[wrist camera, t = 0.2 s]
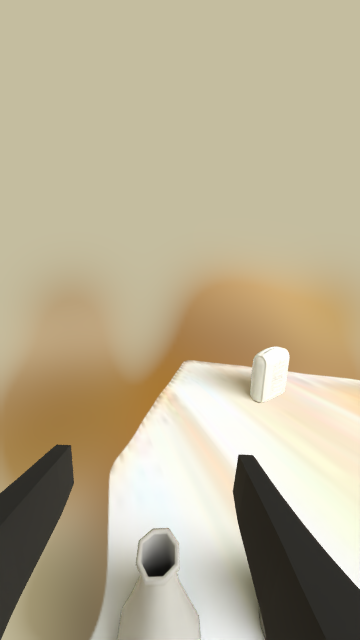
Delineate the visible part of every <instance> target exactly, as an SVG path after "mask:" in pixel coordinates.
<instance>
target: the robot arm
mask: <svg viewBox="0 0 360 640" xmlns="http://www.w3.org/2000/svg"><path fill="white" fill-rule="evenodd" d="M73 479H74V478H73V466H72V453H71V445H56V446H55V447H53V448H52V449H51V450H50V451H49V452H48V453H46V454H45V455H44V456H43V457H42V458H41V459H39V460H38V461H37V462H36V463H35V464H34V465H33V466H32V467H30V468H29V469H28V470H27V471H26V472H25V473H24V474H22V475H21V476H20V477H19V478H18V479H17V480H15V481H14V482H13V483H12V484H11V485H9V486H8V487H7V488H6V489H5V490H4V491H2V492H1V493H0V640H1V638H2V636H3V633H4V631H5V629H6V626H7V624H8V622H9V619H10V617H11V615H12V613H13V610H14V609H15V606H16V604H17V602H18V600H19V598H20V596H21V594H22V592H23V590H24V588H25V586H26V583H27V582H28V580H29V578H30V576H31V574H32V572H33V570H34V568H35V566H36V564H37V562H38V560H39V558H40V556H41V554H42V552H43V550H44V548H45V546H46V544H47V542H48V540H49V538H50V536H51V534H52V532H53V530H54V528H55V526H56V524H57V522H58V520H59V518H60V516H61V514H62V512H63V509H64V507H65V505H66V502H67V500H68V497H69V494H70V492H71V489H72V486H73V484H74V480H73ZM233 495H234V501H235V508H236V514H237V520H238V524H239V529H240V533H241V536H242V540H243V544H244V548H245V552H246V556H247V560H248V564H249V568H250V572H251V576H252V580H253V584H254V587H255V591H256V595H257V599H258V603H259V607H260V611H261V616H262V620H263V625H264V629H265V634H266V640H360V589H359V588H358V587H357V586H356V585H355V584H354V583H353V582H352V581H351V579H350V578H349V577H348V576H347V575H346V574H345V573H344V572H343V570H342V569H341V568H340V567H339V566H338V565H337V564H336V563H335V561H334V560H333V559H332V558H331V557H330V556H329V554H328V553H327V552H326V551H325V550H324V549H323V547H322V546H321V545H320V544H319V543H318V541H317V540H316V539H315V538H314V536H313V535H312V534H311V533H310V532H309V530H308V529H307V528H306V527H305V525H304V524H303V523H302V522H301V520H300V519H299V518H298V517H297V515H296V514H295V513H294V511H293V510H292V509H291V507H290V506H289V505H288V503H287V502H286V501H285V499H284V498H283V497H282V495H281V494H280V493H279V491H278V490H277V489H276V487H275V486H274V484H273V483H272V482H271V480H270V479H269V477H268V476H267V474H266V473H265V472H264V470H263V469H262V467H261V466H260V464H259V463H258V461H257V460H256V459H255V457H254V456H253V455H239V456H238V462H237V469H236V475H235V482H234V488H233Z"/></svg>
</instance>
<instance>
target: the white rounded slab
mask: <svg viewBox="0 0 360 640" xmlns="http://www.w3.org/2000/svg"><path fill="white" fill-rule="evenodd" d="M288 363H289V353H288V351H287V350H286V349H284V348H281V347H270V348H267V349H265V350H263V351H261V352H259V353H258V354H257V355H256V356H255V357H254V360H253V368H252V378H251V388H250V396H251V398H252V399H253V400H255V401H257V402H266V401H268V400H270V399H272V398H275V397H277V396H279V395H281V394H282V393H284V391H285V386H286V378H287V371H288Z"/></svg>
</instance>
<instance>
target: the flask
mask: <svg viewBox="0 0 360 640" xmlns="http://www.w3.org/2000/svg"><path fill="white" fill-rule="evenodd" d="M136 566H137V569H138V571H139V573H140V577H139V579H138V581H137V583H136V585H135V587H134V589H133V591H132V593H131V595H130V596H129V598H128V599H127V601H126V603H125V604H124V606H123V608H122V612H121V618H120V625H119V632H118V639H117V640H201V636H200V623H199V615H198V613H197V611H196V610H195V608H194V606H193V604H192V603H191V601H190V599H189V597H188V596H187V594H186V592H185V590H184V589H183V587H182V585H181V583H180V581H179V579H178V575H177V572H178V571H179V568H180V565H179V543H178V541H177V540H176V538H175V537H174V535H173V534H172V532H171V531H170V529H169V528H158V529H152V530H151V531H150V532H148V533H147V534H146V535H145V536H144V537H143V538H141V539H140V540H139V543H138V551H137V559H136Z"/></svg>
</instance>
